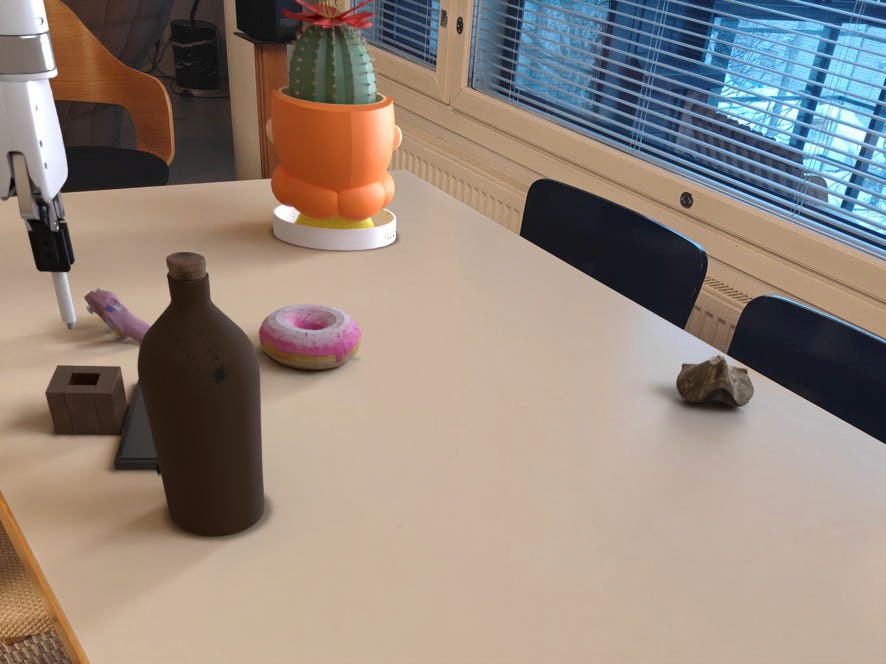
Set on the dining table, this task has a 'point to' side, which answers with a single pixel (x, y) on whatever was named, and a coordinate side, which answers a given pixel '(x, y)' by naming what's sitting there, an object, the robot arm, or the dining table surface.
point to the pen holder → (87, 399)
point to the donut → (310, 336)
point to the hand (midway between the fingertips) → (56, 266)
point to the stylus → (64, 298)
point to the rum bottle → (203, 407)
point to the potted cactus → (332, 138)
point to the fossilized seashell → (715, 382)
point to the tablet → (136, 438)
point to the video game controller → (116, 315)
